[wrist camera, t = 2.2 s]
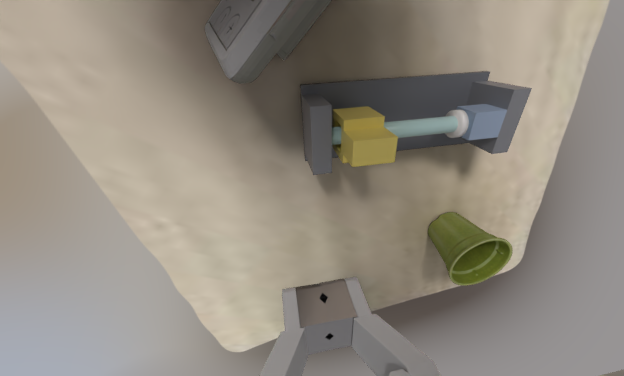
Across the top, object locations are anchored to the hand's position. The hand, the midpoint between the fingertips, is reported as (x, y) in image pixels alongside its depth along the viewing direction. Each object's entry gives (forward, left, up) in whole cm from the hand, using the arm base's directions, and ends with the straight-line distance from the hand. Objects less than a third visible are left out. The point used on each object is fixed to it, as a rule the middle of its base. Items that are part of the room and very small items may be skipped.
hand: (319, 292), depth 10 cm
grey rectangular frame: (0, +14, -23) cm, 27 cm away
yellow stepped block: (0, +8, -20) cm, 22 cm away
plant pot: (+20, +26, -23) cm, 40 cm away
